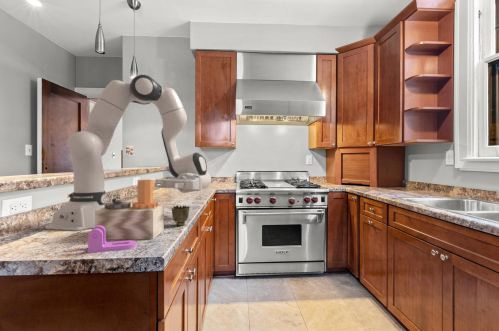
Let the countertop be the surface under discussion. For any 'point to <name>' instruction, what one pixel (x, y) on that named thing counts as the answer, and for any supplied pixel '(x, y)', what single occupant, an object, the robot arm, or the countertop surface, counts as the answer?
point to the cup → (180, 214)
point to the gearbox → (129, 221)
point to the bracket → (100, 245)
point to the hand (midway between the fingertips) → (164, 185)
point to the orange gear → (145, 195)
